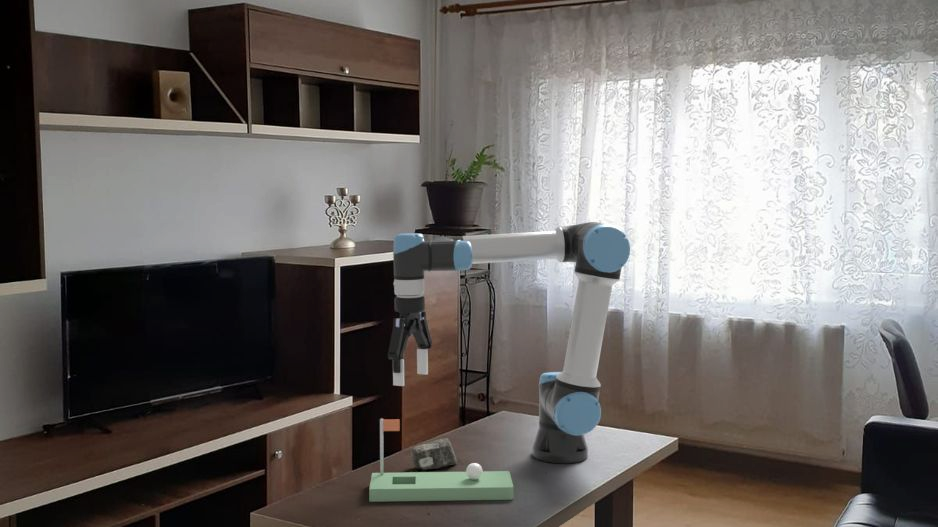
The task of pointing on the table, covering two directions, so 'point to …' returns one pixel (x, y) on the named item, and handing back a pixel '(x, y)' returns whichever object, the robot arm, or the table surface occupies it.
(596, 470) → the table surface
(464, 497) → the green
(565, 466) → the table surface
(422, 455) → the stone
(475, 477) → the ball
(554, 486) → the table surface
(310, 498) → the table surface
